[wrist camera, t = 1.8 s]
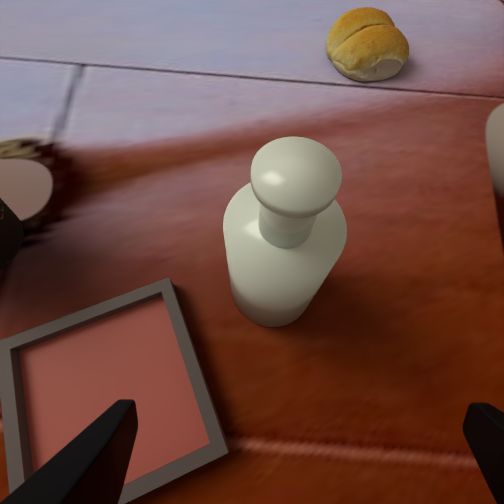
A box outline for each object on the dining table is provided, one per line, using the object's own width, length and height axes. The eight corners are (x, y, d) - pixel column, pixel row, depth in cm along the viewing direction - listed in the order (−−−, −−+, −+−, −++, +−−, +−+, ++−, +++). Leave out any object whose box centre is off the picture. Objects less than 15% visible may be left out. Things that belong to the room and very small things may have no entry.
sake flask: (317, 262, 25) (385, 131, 13) (301, 337, 23) (365, 262, 11) (244, 243, 26) (242, 100, 14) (220, 313, 23) (193, 217, 11)
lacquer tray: (229, 449, 20) (228, 452, 18) (33, 545, 18) (15, 557, 16) (173, 284, 24) (169, 277, 23) (10, 345, 22) (-5, 342, 21)
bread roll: (378, 28, 38) (392, -11, 35) (411, 78, 35) (430, 40, 31) (312, 37, 37) (319, -2, 34) (339, 89, 34) (350, 52, 30)
